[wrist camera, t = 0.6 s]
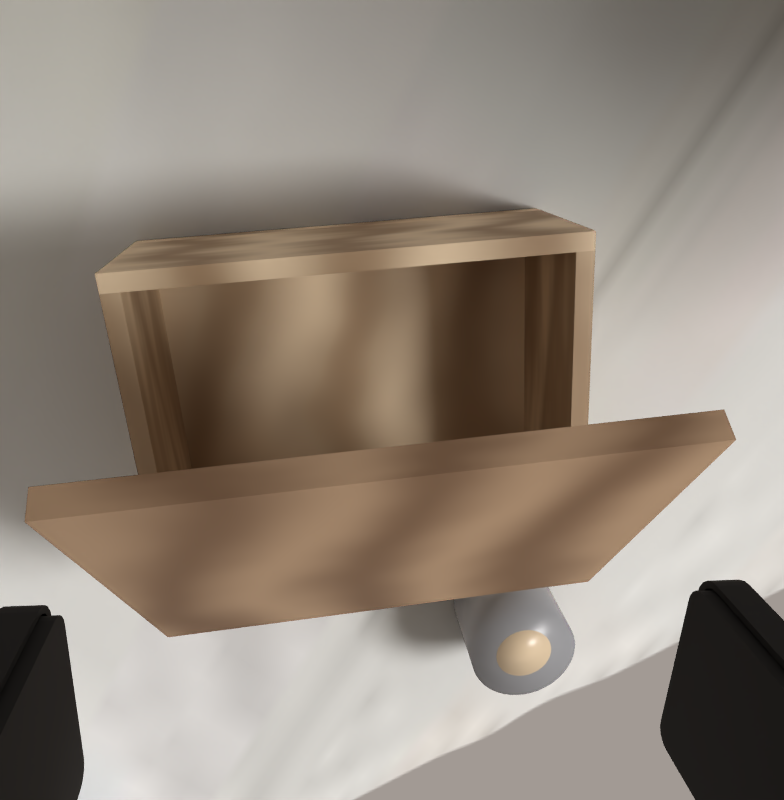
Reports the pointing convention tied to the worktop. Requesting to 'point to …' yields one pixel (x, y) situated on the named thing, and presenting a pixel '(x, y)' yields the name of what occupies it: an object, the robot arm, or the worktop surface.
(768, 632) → the robot arm
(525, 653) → the grey knob post
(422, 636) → the worktop surface
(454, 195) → the worktop surface
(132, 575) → the lid
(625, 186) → the worktop surface
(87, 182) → the worktop surface
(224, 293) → the storage box
